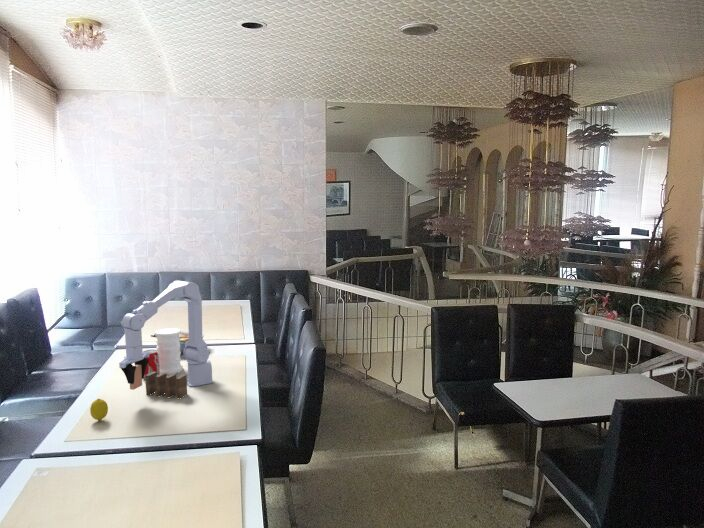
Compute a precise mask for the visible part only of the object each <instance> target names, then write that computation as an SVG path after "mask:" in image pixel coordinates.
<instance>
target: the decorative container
mask: <svg viewBox="0 0 704 528" xmlns="http://www.w3.org/2000/svg"><path fill="white" fill-rule="evenodd" d="M181 332H182V331H181V329H180V328H171V327H169V328H167V327H166V328H162V329H157V330H155V332H154V334H155V336H157V337H156V340H155V342H156V350H157V353H158V354H159V364H160V374H161V373H167V375H171V374H178V373H180V372H182V371H183V370H184V366H183V365H182V364H181V362H182V361H181V360H182V359H181V354H182V353H181V352H180V343H179V341H180V337H179V334H181Z"/></svg>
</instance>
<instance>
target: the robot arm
mask: <svg viewBox="0 0 704 528" xmlns="http://www.w3.org/2000/svg"><path fill="white" fill-rule="evenodd" d="M175 298H182V299H183V300H184V301H185V302H186V303H187V319H188V321H187V323H188V325H187V327H188V328H187V329H188V332H189V340H188V341H187V342H186V343H185V349H184V353H182V355H183V357H184V359H185V360H186V362H187V386H188V387H190V388H191V387H196V386H204V385H208V384H213V368H212V362H211V360H209V358H210V350H209V348H208V344H207V343H206V341H205V340H204V338H203V339H202V334H203V307H202V306H203V305H202V304H203V303H202V295H201V292H200V286H199V285H198V283H197V284H196V283H195V282H193V281H184V280H180V279H176V280H174V281H173V282H171V283H170V284H168V287H167V288H166V289H165V290H163V291H162V292H161V293H160V294H159V295H157V296H156V297H155V298H154V299H153V300H152V301H150V300H148V301H143V302H142V305H139V306H138V307H137V308H136V309H133V310H132V312H129V313H126V314H125V315H124V316H123V317H122V319H121V321H120V325H121V327H122V328H123V331H124V338H125V340H124V342H125V356H124V357H123V358H124V359H123V360H121V361H119V362H118V363H119V368H120V370H121V371H122V372H123V374H124V376H125V378H126V381H127V384H129V385H130V384H134V375H135V370H136V367H137V366H135V365H141V369H142V380H143V378H144V374H145V369H146V367H147V364H148V362H149V359H146V357H149V352H143V351H144V350H143V336H142V335H143V333H142V330H143V328H144V326H145V323H146V322H147V321H148V320H150V319H151V318H152V317H154V316H155V315H156V314H157V313H158V310H159V308H161V307H162V306H163V305H166V304H167V303H168V302H169V301H171V300H172V299H175ZM133 364H134V365H133Z"/></svg>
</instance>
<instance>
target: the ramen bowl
mask: <svg viewBox="0 0 704 528" xmlns="http://www.w3.org/2000/svg"><path fill="white" fill-rule="evenodd" d="M204 336H205V335H204V334H203V333H202V339H203V340H204ZM150 337H151V338H157V336H155V333H154V334H151V335H150ZM179 337H180V341H179V343H180V352H181V354H183V353H184V349H185V343H186V342H187V341H188V340H189V331H181V334H179Z"/></svg>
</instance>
